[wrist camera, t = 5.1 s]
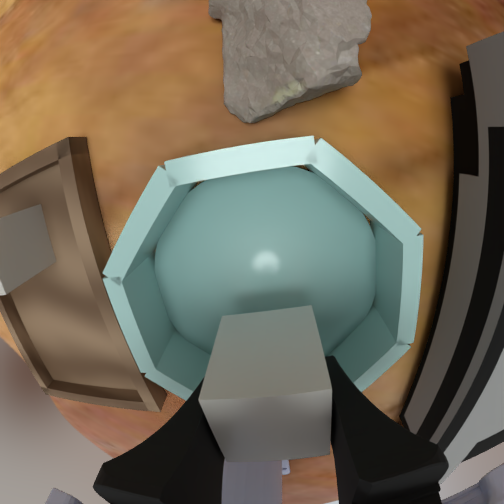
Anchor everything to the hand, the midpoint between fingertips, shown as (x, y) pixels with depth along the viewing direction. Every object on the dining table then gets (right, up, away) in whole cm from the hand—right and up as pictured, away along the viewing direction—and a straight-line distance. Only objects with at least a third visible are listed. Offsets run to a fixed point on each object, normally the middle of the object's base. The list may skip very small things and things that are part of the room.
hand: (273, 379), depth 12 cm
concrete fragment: (+1, +19, 0) cm, 19 cm away
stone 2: (0, +1, +2) cm, 2 cm away
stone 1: (-16, +6, +4) cm, 18 cm away
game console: (+21, +2, +4) cm, 22 cm away
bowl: (0, +4, +4) cm, 6 cm away
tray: (-15, +2, +6) cm, 17 cm away
